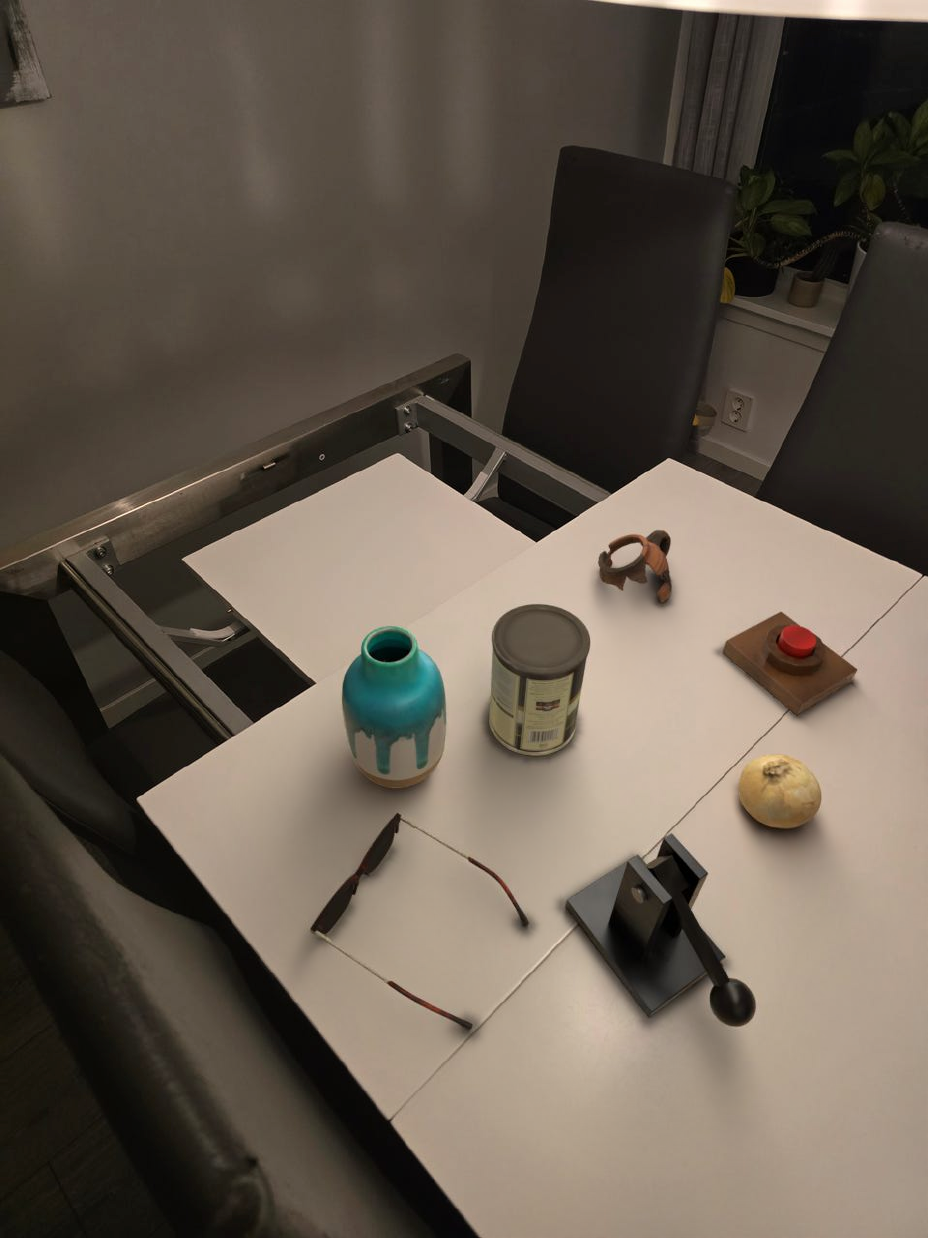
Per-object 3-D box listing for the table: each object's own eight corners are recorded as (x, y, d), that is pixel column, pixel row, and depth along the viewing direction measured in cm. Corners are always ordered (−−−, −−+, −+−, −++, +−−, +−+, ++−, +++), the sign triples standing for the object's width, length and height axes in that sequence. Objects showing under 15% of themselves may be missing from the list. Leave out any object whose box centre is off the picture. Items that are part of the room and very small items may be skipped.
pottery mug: (659, 621, 104) (635, 578, 100) (602, 613, 111) (578, 572, 107) (699, 557, 109) (678, 513, 104) (642, 553, 116) (620, 512, 111)
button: (818, 650, 95) (823, 640, 94) (796, 663, 93) (800, 653, 92) (792, 630, 97) (797, 620, 96) (770, 643, 96) (774, 633, 95)
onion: (775, 765, 87) (794, 726, 82) (827, 822, 82) (851, 784, 77) (718, 791, 85) (734, 752, 80) (767, 851, 80) (788, 814, 75)
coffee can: (538, 674, 97) (548, 590, 87) (594, 729, 91) (611, 646, 81) (470, 711, 92) (472, 627, 83) (524, 772, 86) (533, 689, 77)
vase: (342, 738, 90) (322, 619, 76) (431, 715, 92) (427, 596, 78) (363, 815, 82) (345, 700, 69) (459, 789, 85) (460, 672, 71)
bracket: (722, 962, 72) (761, 898, 63) (649, 1018, 68) (678, 958, 59) (635, 860, 79) (658, 789, 70) (565, 906, 76) (579, 837, 67)
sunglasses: (397, 834, 81) (397, 809, 77) (534, 916, 76) (541, 894, 72) (313, 949, 72) (308, 927, 69) (461, 1050, 67) (465, 1032, 64)
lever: (746, 1008, 66) (773, 1013, 63) (715, 1033, 65) (741, 1039, 61) (660, 853, 69) (681, 850, 65) (629, 873, 67) (649, 872, 64)
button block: (851, 681, 96) (863, 659, 93) (796, 715, 92) (807, 693, 90) (776, 622, 103) (785, 600, 101) (722, 652, 100) (729, 630, 97)
